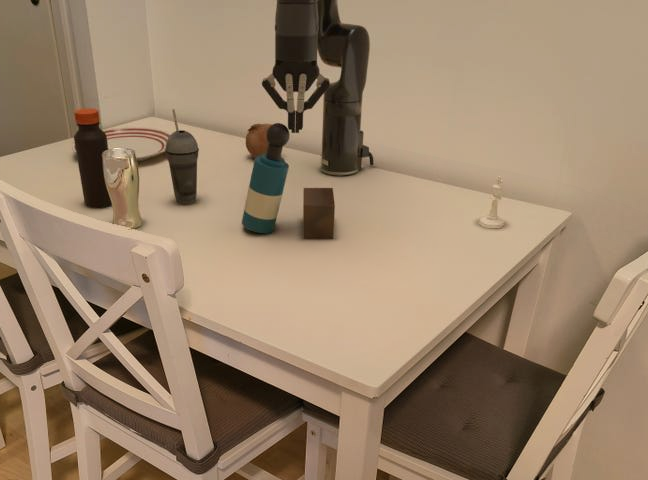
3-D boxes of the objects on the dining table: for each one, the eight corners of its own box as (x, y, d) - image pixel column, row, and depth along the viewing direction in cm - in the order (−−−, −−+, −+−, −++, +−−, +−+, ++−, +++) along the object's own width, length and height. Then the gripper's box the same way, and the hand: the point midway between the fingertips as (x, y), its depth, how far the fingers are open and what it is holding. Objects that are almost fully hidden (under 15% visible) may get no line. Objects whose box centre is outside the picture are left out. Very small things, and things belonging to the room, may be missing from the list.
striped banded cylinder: (250, 246, 139) (203, 164, 131) (253, 232, 145) (209, 153, 136) (325, 212, 134) (281, 124, 125) (325, 199, 140) (284, 114, 131)
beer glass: (112, 218, 146) (102, 147, 138) (145, 217, 147) (137, 146, 138) (109, 231, 140) (98, 158, 132) (143, 230, 141) (134, 157, 133)
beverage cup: (196, 208, 151) (190, 114, 140) (165, 206, 152) (156, 112, 141) (206, 196, 157) (200, 106, 146) (175, 194, 158) (167, 104, 147)
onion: (252, 171, 181) (234, 139, 175) (260, 152, 187) (243, 120, 181) (284, 161, 177) (267, 128, 170) (291, 142, 183) (275, 109, 176)
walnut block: (303, 238, 136) (303, 205, 133) (302, 219, 145) (303, 187, 141) (333, 239, 136) (334, 205, 132) (331, 220, 145) (332, 187, 141)
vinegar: (120, 204, 153) (107, 112, 142) (90, 210, 150) (75, 116, 139) (109, 195, 158) (96, 105, 147) (80, 201, 155) (65, 109, 144)
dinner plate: (169, 169, 174) (167, 156, 172) (61, 169, 174) (59, 156, 172) (182, 138, 196) (181, 126, 195) (87, 139, 197) (85, 127, 195)
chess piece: (490, 230, 139) (499, 182, 134) (474, 222, 143) (481, 175, 138) (508, 225, 141) (518, 178, 136) (492, 217, 145) (500, 171, 139)
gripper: (333, 28, 123) (329, 127, 132) (259, 28, 123) (261, 126, 133) (335, 34, 117) (331, 137, 126) (257, 34, 117) (259, 137, 127)
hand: (295, 131), depth 129 cm, fingers closed
